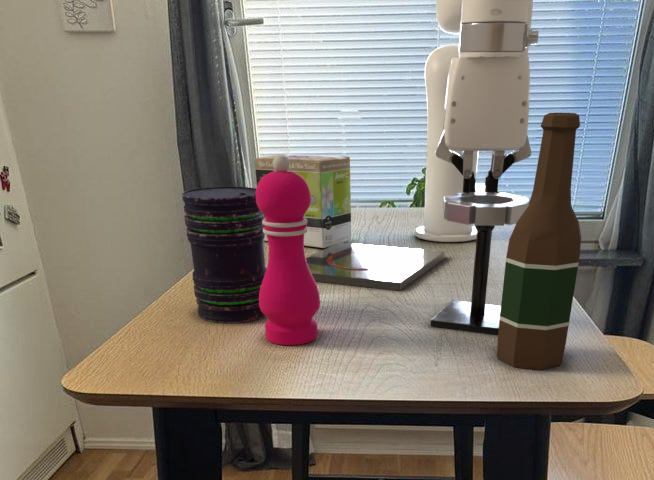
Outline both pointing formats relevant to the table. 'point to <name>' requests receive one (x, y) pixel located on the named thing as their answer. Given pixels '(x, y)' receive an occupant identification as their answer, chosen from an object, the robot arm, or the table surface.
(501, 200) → the octagonal ring with handle
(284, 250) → the pepper mill
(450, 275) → the table surface
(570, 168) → the beer bottle
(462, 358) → the table surface
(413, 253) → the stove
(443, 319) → the black peg stand
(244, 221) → the storage jar
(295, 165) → the tea box
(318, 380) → the table surface
